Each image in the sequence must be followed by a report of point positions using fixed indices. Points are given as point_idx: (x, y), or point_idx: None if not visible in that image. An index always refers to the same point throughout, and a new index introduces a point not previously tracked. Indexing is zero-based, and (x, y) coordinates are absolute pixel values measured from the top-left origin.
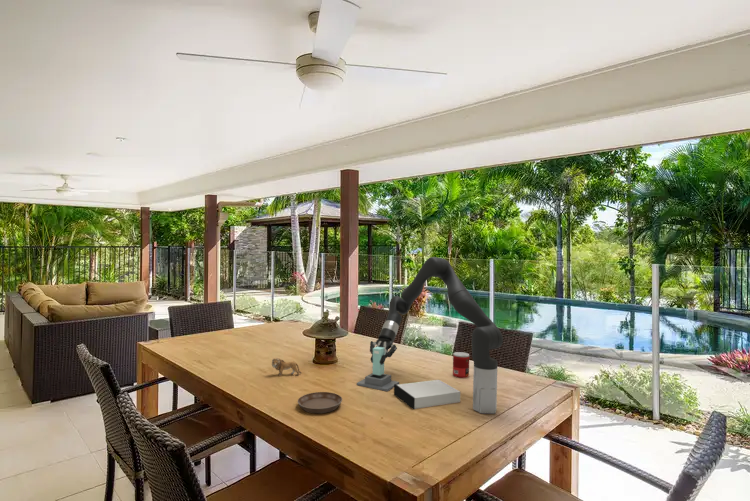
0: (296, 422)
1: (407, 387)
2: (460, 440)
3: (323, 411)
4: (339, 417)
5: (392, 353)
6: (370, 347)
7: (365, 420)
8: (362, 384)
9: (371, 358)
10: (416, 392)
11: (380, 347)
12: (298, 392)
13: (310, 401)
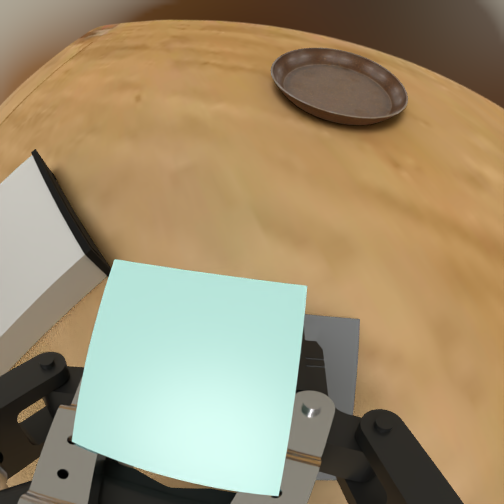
0: (320, 42)
1: (36, 241)
2: (9, 112)
3: (296, 62)
4: (247, 66)
5: (20, 424)
6: (429, 470)
7: (177, 76)
8: (318, 316)
9: (310, 352)
10: (15, 203)
11: (159, 445)
12: (468, 156)
13: (382, 103)
